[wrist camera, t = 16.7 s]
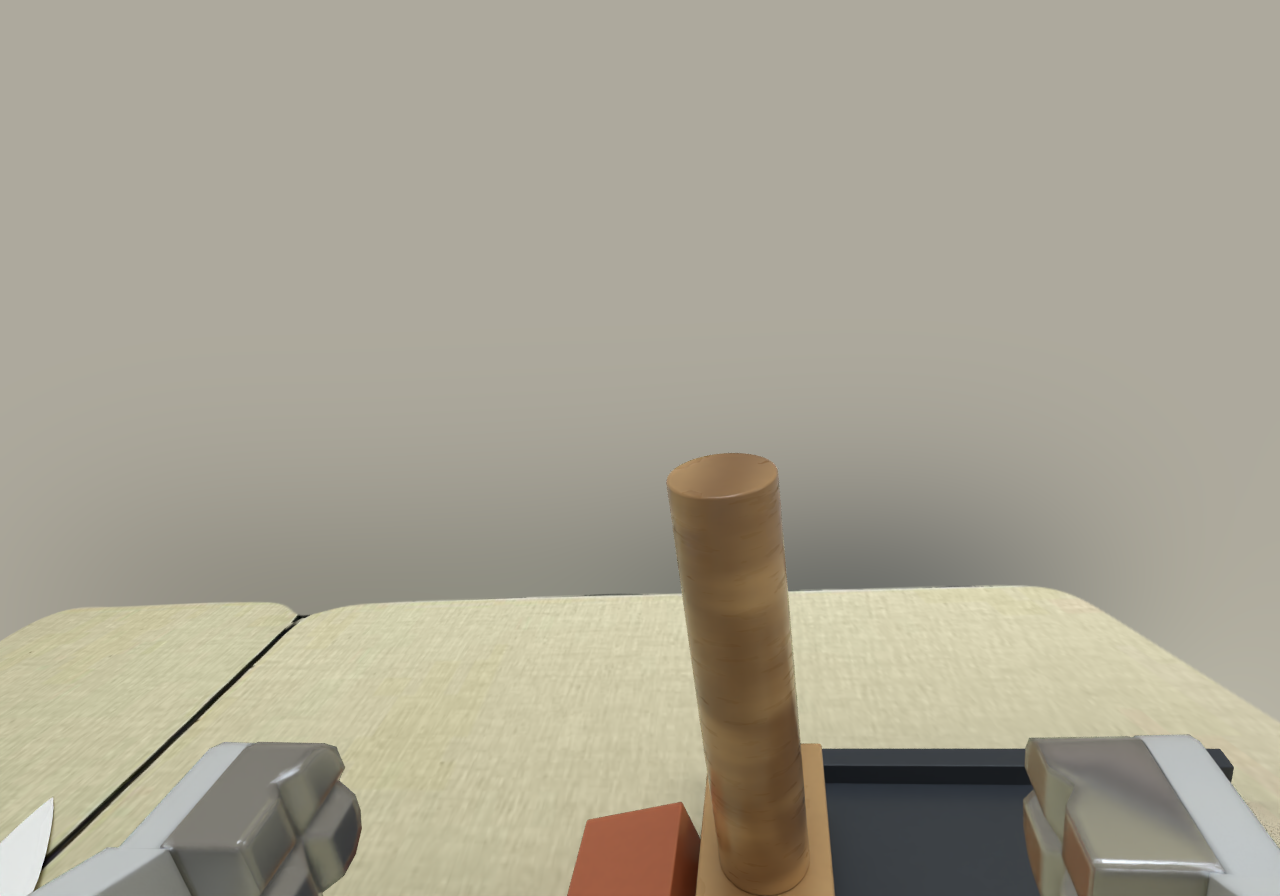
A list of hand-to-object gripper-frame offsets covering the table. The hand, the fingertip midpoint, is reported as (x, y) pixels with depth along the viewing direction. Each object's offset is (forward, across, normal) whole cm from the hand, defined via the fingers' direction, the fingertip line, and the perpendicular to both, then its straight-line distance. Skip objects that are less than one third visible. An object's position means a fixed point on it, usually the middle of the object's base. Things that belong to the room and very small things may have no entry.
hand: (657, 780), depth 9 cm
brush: (+12, 0, +19) cm, 23 cm away
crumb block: (+12, +4, +20) cm, 24 cm away
